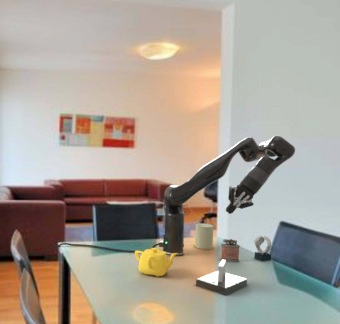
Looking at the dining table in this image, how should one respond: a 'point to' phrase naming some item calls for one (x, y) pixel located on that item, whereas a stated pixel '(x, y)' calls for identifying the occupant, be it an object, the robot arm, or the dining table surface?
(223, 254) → the lighter
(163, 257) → the teapot
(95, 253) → the dining table surface
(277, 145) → the robot arm
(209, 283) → the hob panel
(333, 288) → the dining table surface
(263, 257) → the watch
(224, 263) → the knob
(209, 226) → the can
